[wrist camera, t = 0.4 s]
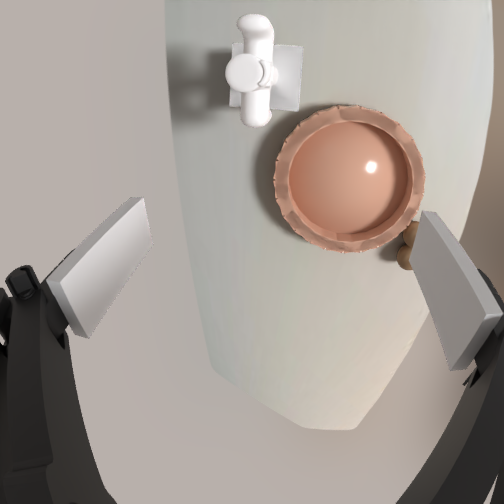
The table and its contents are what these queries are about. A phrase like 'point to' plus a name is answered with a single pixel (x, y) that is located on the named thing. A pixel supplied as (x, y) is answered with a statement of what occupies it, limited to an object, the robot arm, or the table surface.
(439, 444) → the robot arm
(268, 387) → the table surface
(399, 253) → the wooden beads
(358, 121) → the dish
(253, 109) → the figurine
